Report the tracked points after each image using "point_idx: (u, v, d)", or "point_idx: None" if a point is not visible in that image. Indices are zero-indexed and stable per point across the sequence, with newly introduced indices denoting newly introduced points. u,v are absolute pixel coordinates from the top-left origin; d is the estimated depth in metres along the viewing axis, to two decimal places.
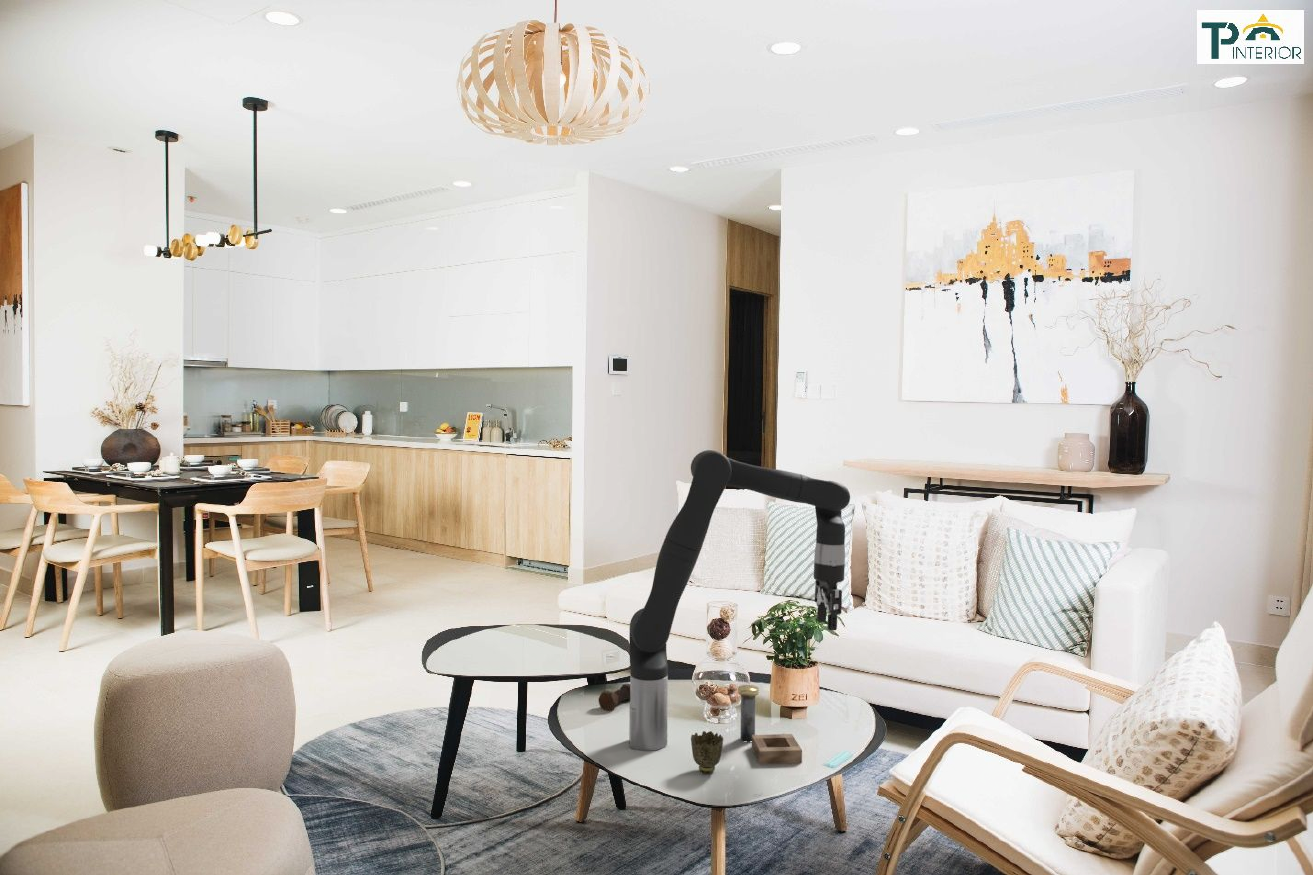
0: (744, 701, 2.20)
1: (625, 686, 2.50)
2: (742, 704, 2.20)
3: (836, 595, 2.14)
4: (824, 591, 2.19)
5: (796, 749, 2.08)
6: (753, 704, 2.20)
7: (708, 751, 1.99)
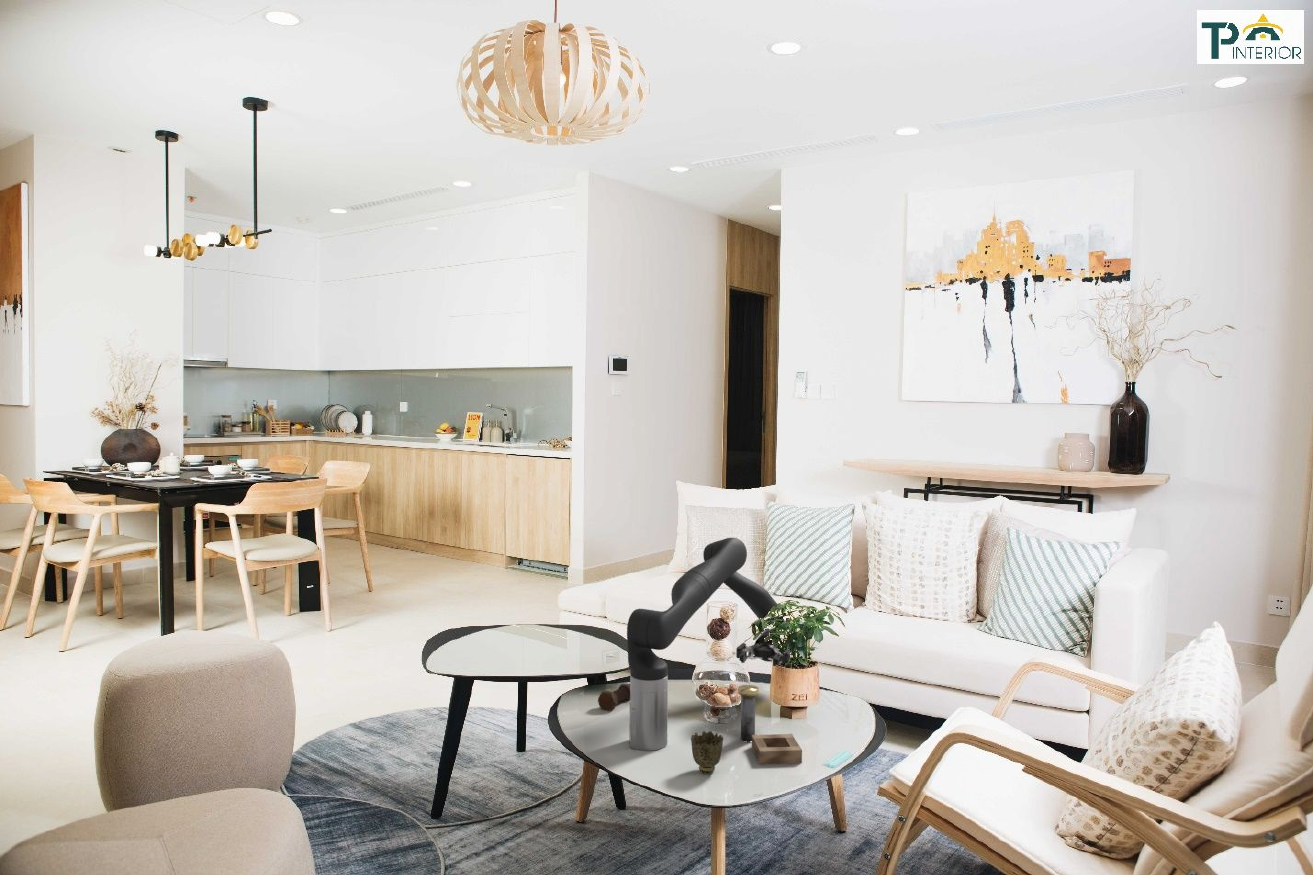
0: (744, 701, 2.20)
1: (623, 686, 2.50)
2: (742, 704, 2.20)
3: None
4: None
5: (796, 749, 2.08)
6: (753, 704, 2.20)
7: (708, 751, 1.99)
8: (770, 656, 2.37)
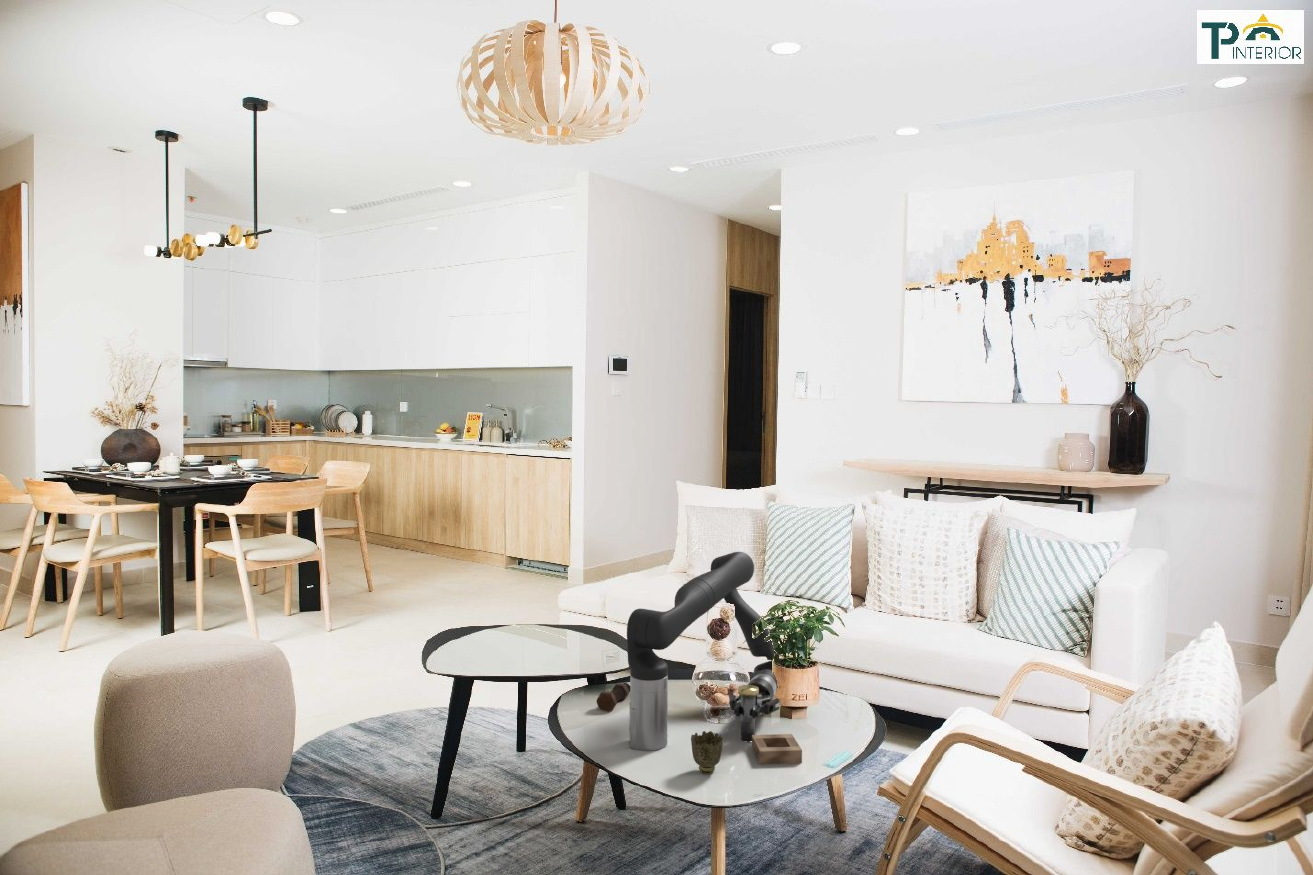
0: (744, 701, 2.20)
1: (618, 686, 2.50)
2: (742, 704, 2.20)
3: (777, 704, 2.25)
4: (761, 695, 2.27)
5: (796, 749, 2.08)
6: (753, 704, 2.20)
7: (708, 751, 1.99)
8: None
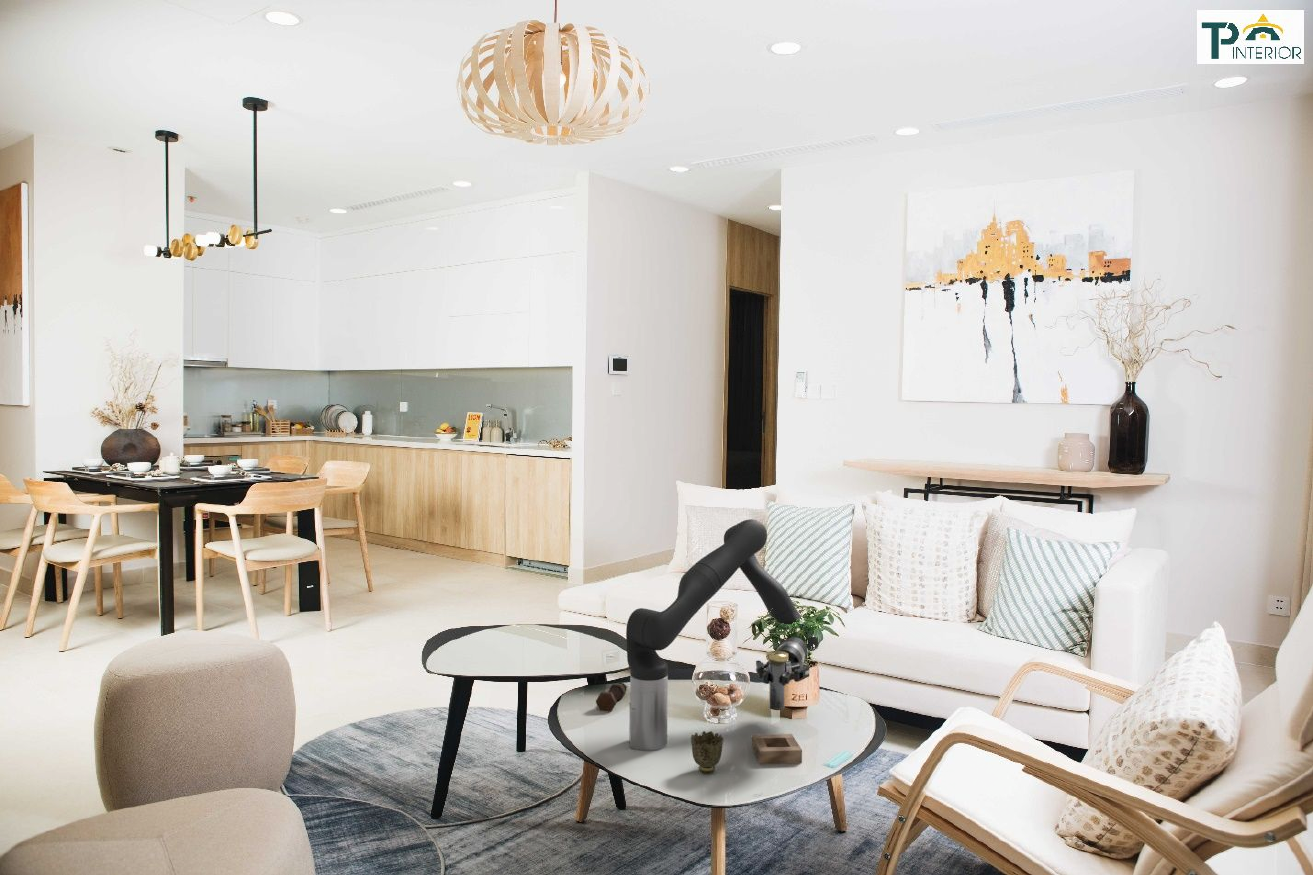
0: (773, 668, 2.10)
1: (615, 686, 2.50)
2: (771, 671, 2.10)
3: (807, 671, 2.15)
4: (790, 662, 2.17)
5: (796, 749, 2.08)
6: (783, 670, 2.10)
7: (708, 751, 1.99)
8: None
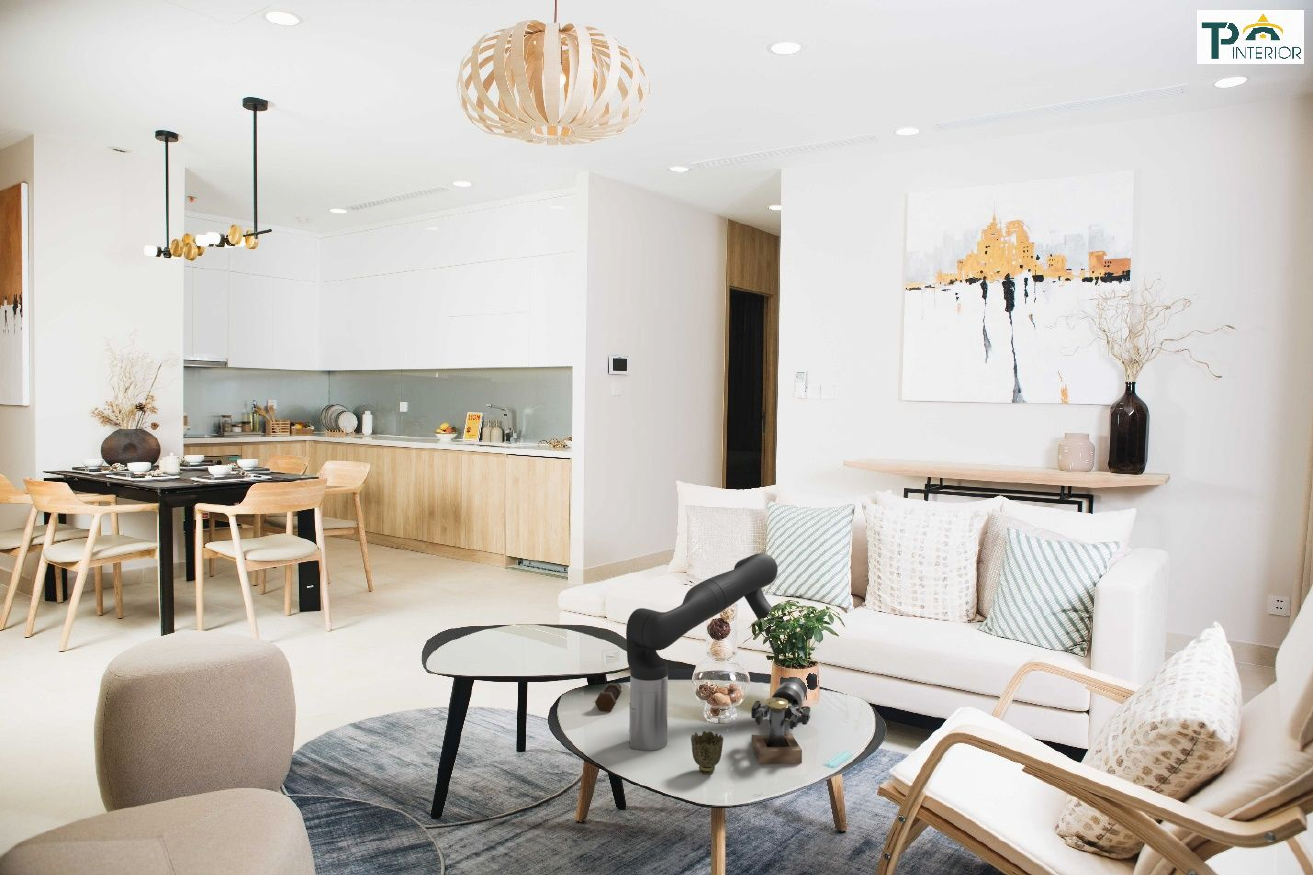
0: (773, 715, 2.10)
1: (611, 686, 2.50)
2: (771, 718, 2.11)
3: (809, 713, 2.16)
4: None
5: (796, 749, 2.08)
6: (782, 718, 2.11)
7: (708, 751, 1.99)
8: (787, 716, 2.15)
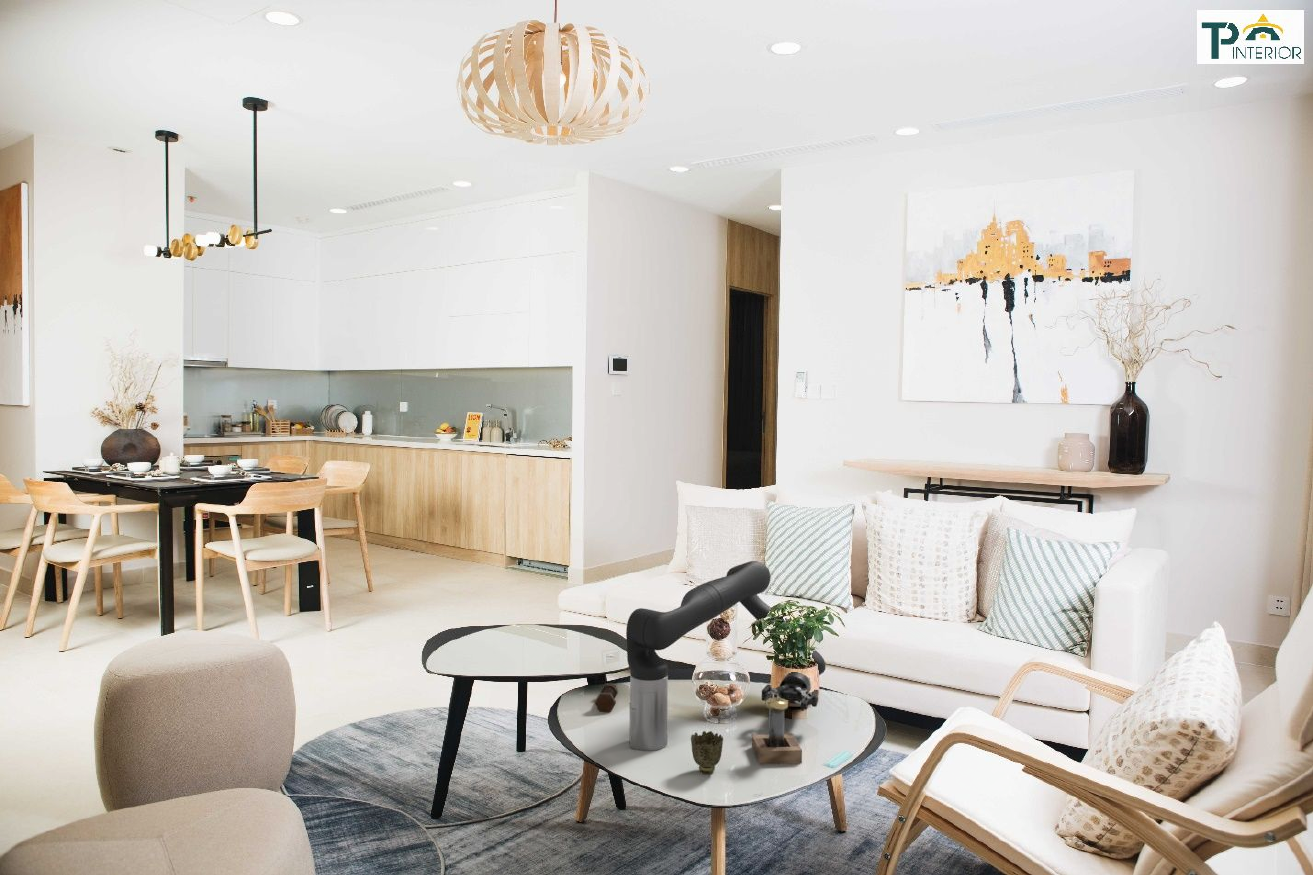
0: (773, 715, 2.10)
1: (608, 686, 2.50)
2: (771, 718, 2.11)
3: (818, 695, 2.28)
4: None
5: (796, 749, 2.08)
6: (782, 718, 2.11)
7: (708, 751, 1.99)
8: (797, 699, 2.28)
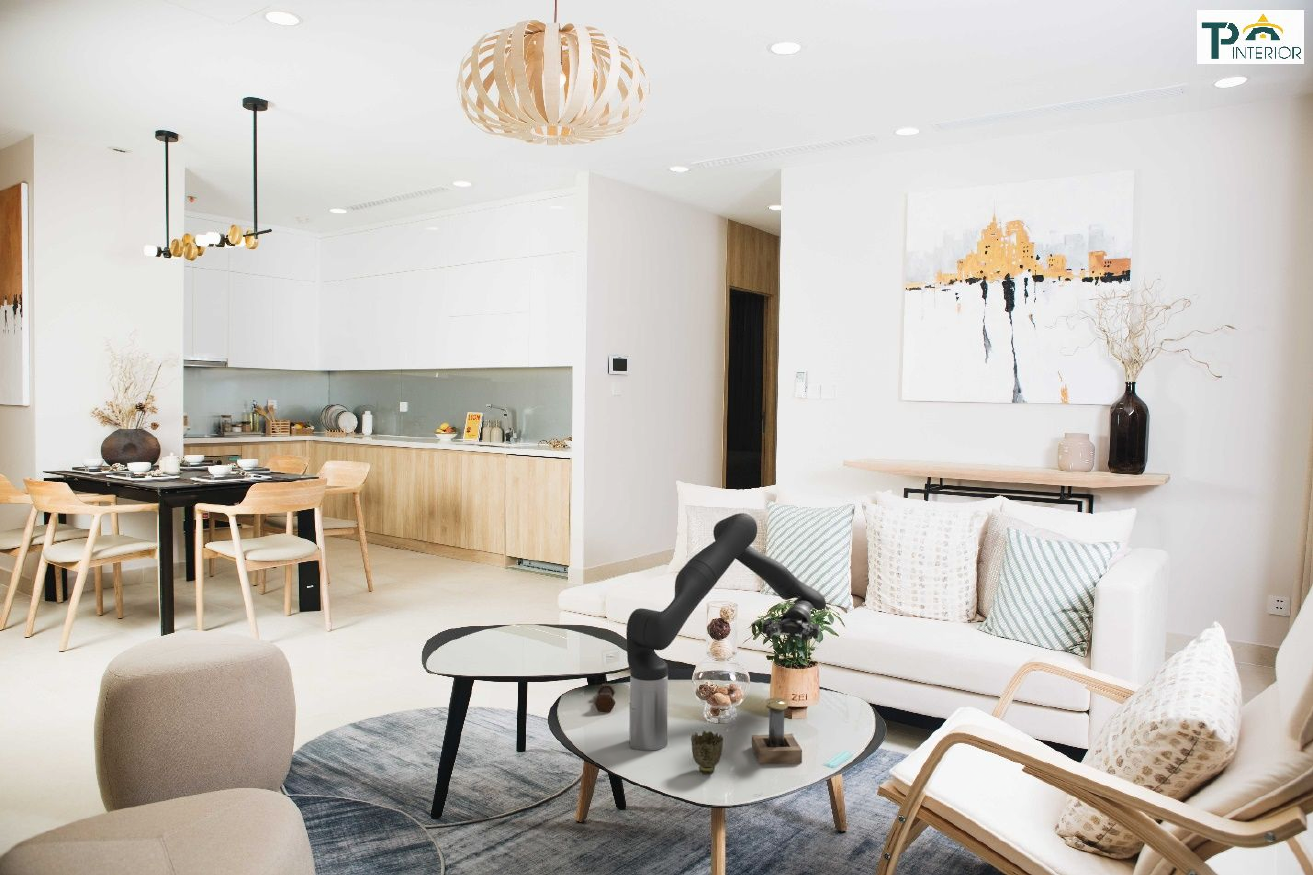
0: (773, 715, 2.10)
1: (605, 686, 2.49)
2: (770, 718, 2.11)
3: None
4: None
5: (796, 749, 2.08)
6: (782, 718, 2.11)
7: (708, 751, 1.99)
8: (798, 632, 2.27)
